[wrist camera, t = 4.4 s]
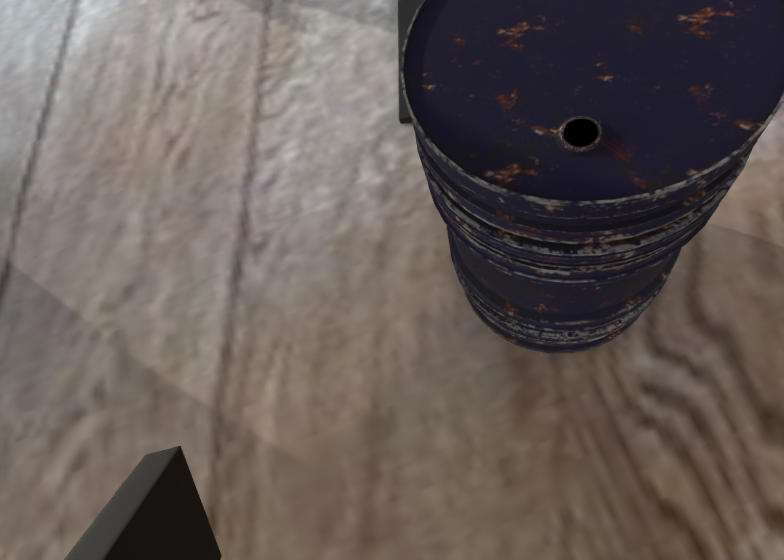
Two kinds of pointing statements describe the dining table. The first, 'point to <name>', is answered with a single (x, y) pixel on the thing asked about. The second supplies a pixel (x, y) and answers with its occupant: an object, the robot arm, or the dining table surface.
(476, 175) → the dark oil barrel
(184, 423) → the dining table surface
